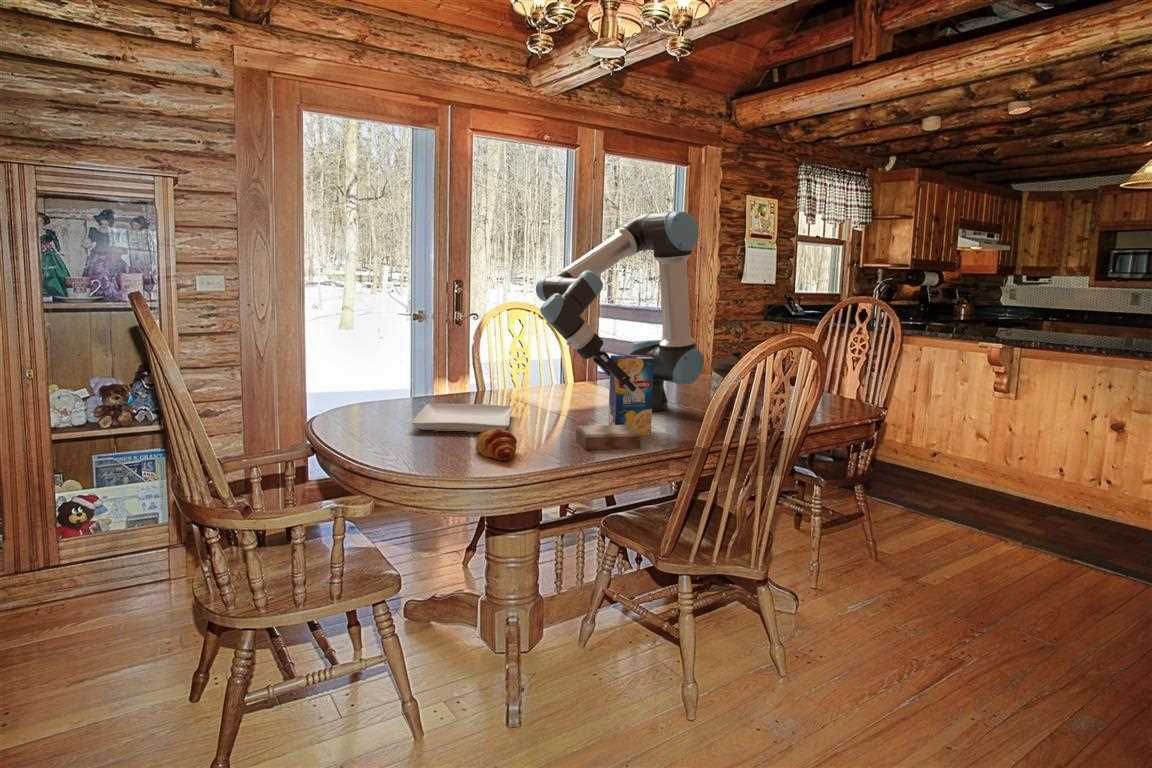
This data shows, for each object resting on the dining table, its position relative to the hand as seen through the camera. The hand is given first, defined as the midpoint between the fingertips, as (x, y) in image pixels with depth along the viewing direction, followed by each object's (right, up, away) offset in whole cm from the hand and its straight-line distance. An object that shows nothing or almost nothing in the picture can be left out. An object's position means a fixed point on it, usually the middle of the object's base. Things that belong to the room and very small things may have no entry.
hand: (634, 393), depth 206 cm
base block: (-8, -13, -13) cm, 20 cm away
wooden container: (+34, -8, +29) cm, 46 cm away
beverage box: (-1, -11, +2) cm, 12 cm away
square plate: (-50, -10, +6) cm, 51 cm away
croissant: (-37, -15, -25) cm, 47 cm away
